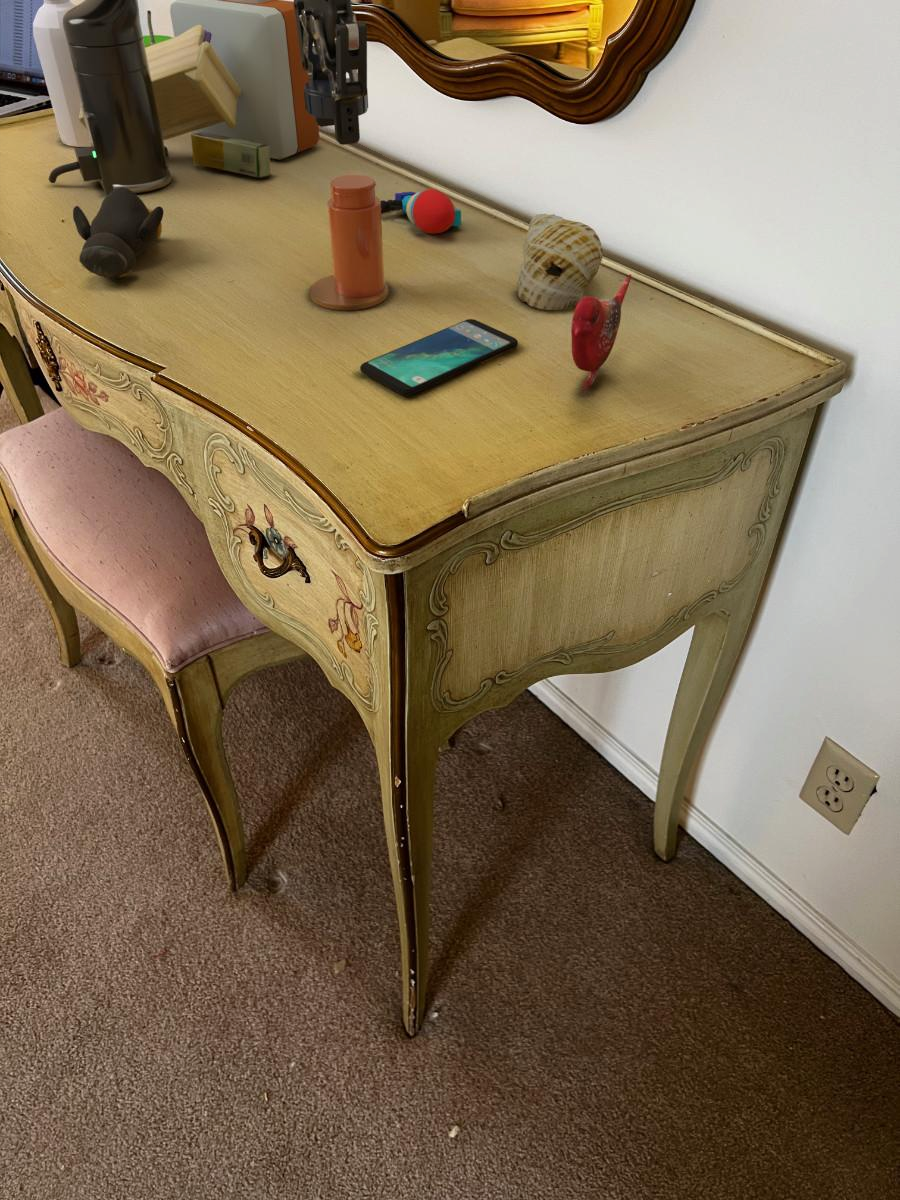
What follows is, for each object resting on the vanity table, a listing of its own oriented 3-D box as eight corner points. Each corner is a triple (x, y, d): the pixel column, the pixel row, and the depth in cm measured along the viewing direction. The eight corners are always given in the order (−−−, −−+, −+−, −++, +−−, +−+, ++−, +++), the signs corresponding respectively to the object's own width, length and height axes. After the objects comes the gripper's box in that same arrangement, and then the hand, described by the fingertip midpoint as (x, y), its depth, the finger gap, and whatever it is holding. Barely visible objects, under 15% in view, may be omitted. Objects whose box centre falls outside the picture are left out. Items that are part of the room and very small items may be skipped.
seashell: (551, 315, 95) (527, 213, 91) (507, 322, 103) (484, 229, 100) (631, 289, 98) (611, 190, 95) (582, 299, 106) (562, 208, 103)
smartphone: (521, 339, 90) (405, 392, 83) (521, 347, 91) (406, 399, 83) (470, 316, 94) (355, 364, 87) (470, 323, 95) (356, 372, 87)
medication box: (272, 175, 129) (271, 144, 127) (260, 179, 127) (258, 147, 125) (204, 160, 133) (201, 130, 131) (191, 163, 131) (188, 132, 129)
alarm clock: (322, 147, 138) (308, -16, 125) (284, 162, 133) (265, -6, 119) (230, 128, 146) (207, -28, 132) (190, 142, 140) (162, -19, 127)
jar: (361, 302, 97) (353, 194, 90) (324, 289, 100) (314, 182, 92) (395, 285, 100) (390, 179, 93) (358, 273, 103) (351, 169, 96)
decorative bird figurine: (551, 414, 82) (560, 306, 75) (609, 331, 94) (621, 231, 87) (583, 421, 81) (595, 313, 74) (636, 336, 93) (651, 236, 86)
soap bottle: (45, 143, 141) (-8, -46, 125) (92, 128, 147) (48, -55, 131) (84, 152, 137) (36, -41, 121) (131, 136, 143) (91, -50, 127)
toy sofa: (240, 127, 128) (245, 71, 131) (205, 76, 120) (210, 18, 124) (114, 167, 134) (121, 113, 138) (73, 121, 126) (81, 65, 130)
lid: (356, 100, 91) (355, 75, 90) (375, 115, 87) (374, 89, 86) (299, 106, 89) (296, 80, 88) (316, 121, 85) (314, 95, 84)
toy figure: (369, 223, 120) (421, 241, 109) (367, 181, 117) (420, 195, 106) (421, 217, 123) (477, 235, 112) (420, 177, 120) (477, 190, 109)
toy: (100, 238, 112) (59, 289, 101) (84, 176, 108) (40, 223, 97) (183, 238, 112) (152, 290, 101) (172, 176, 108) (137, 223, 96)
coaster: (324, 316, 96) (324, 310, 96) (301, 285, 102) (300, 280, 102) (399, 302, 99) (399, 296, 98) (372, 272, 104) (372, 267, 104)
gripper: (255, -89, 82) (279, 119, 93) (303, -68, 72) (323, 160, 84) (336, -93, 84) (349, 110, 96) (393, -73, 75) (400, 150, 86)
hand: (337, 133), depth 90 cm, fingers closed on lid, 5 cm apart
